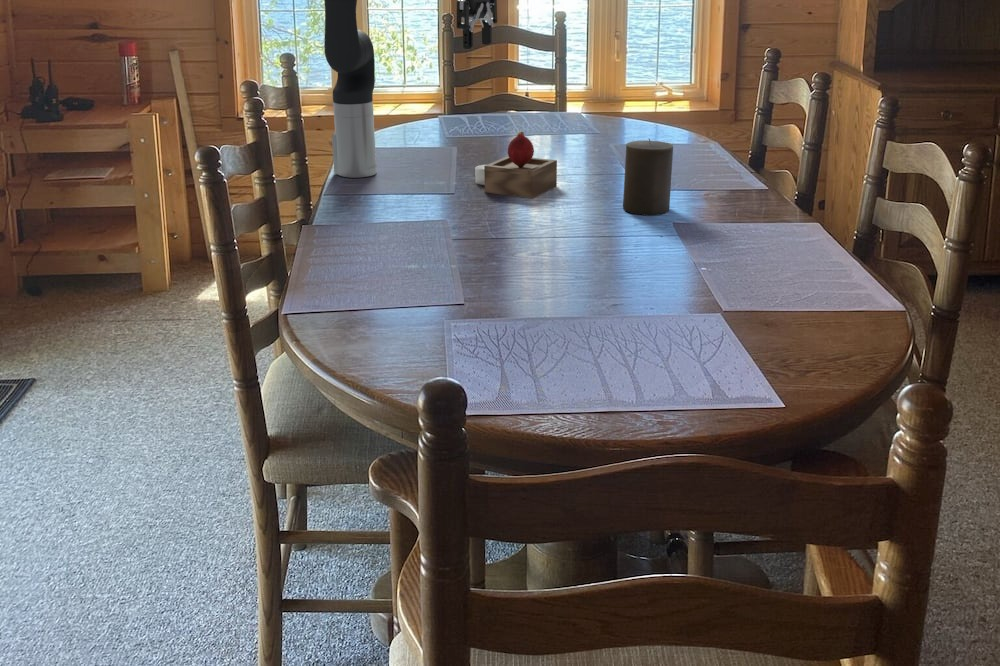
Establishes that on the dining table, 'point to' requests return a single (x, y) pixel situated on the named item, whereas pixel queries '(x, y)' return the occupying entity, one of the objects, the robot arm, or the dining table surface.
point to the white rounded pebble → (480, 174)
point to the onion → (520, 150)
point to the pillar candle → (647, 177)
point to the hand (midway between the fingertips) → (477, 46)
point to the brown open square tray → (520, 177)
